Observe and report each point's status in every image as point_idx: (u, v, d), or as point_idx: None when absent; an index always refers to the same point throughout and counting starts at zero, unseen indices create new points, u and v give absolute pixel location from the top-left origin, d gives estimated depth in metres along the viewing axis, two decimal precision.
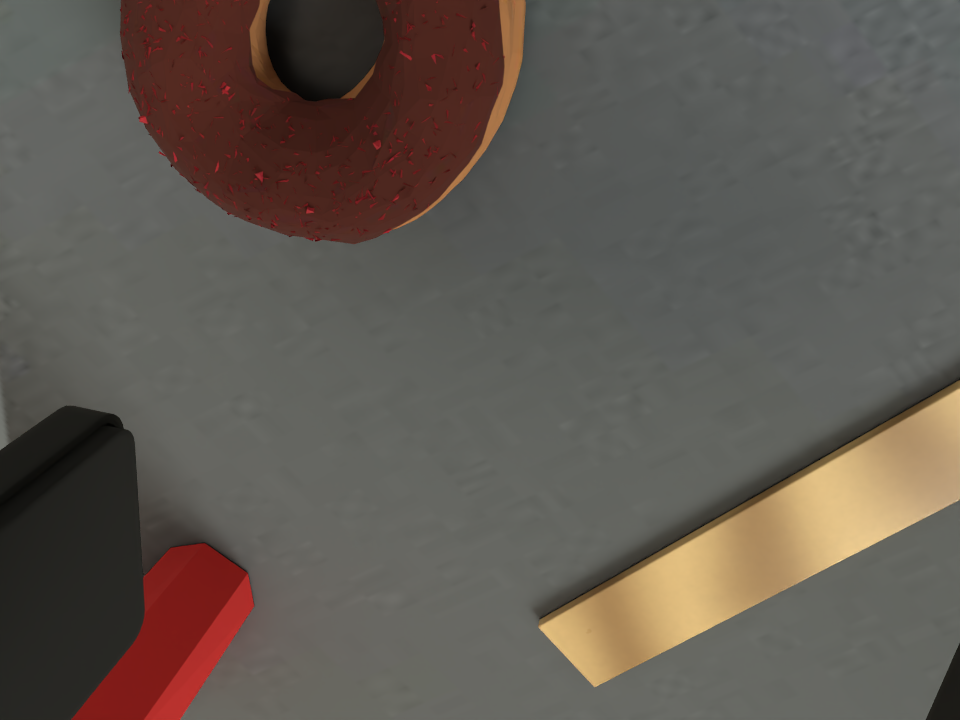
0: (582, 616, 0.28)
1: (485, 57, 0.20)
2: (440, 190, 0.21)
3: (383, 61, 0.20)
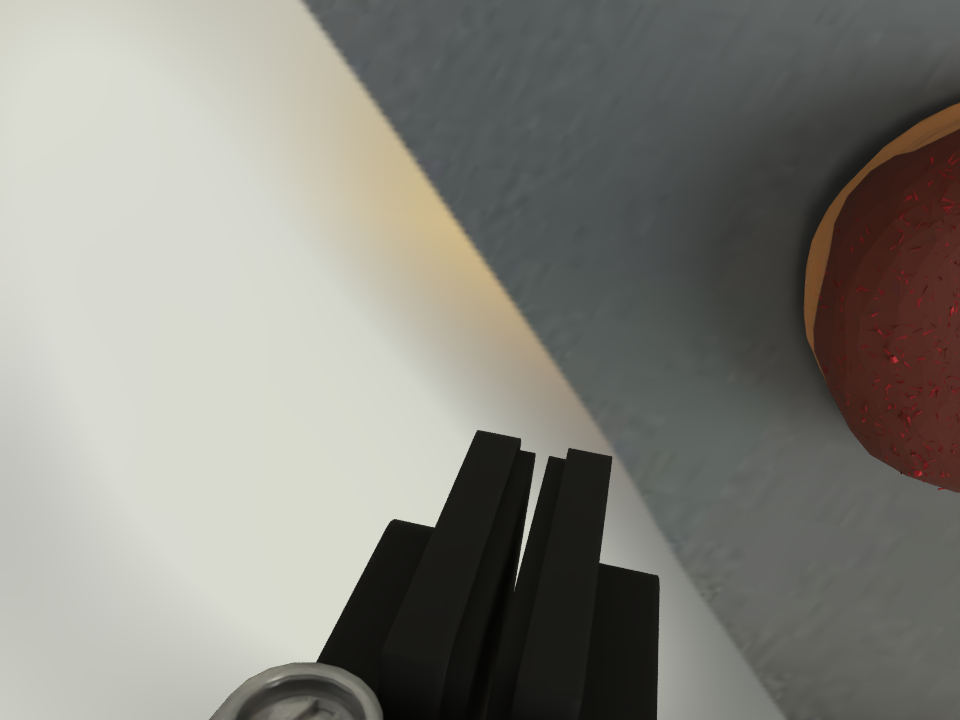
0: None
1: None
2: None
3: None
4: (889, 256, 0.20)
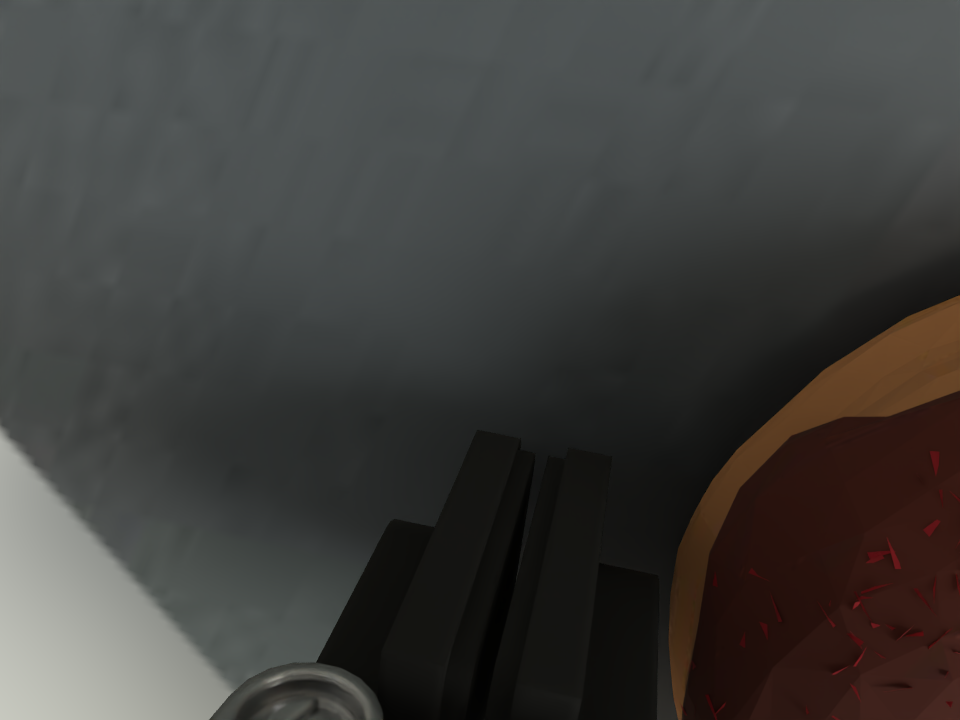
0: None
1: None
2: None
3: None
4: (830, 688, 0.08)
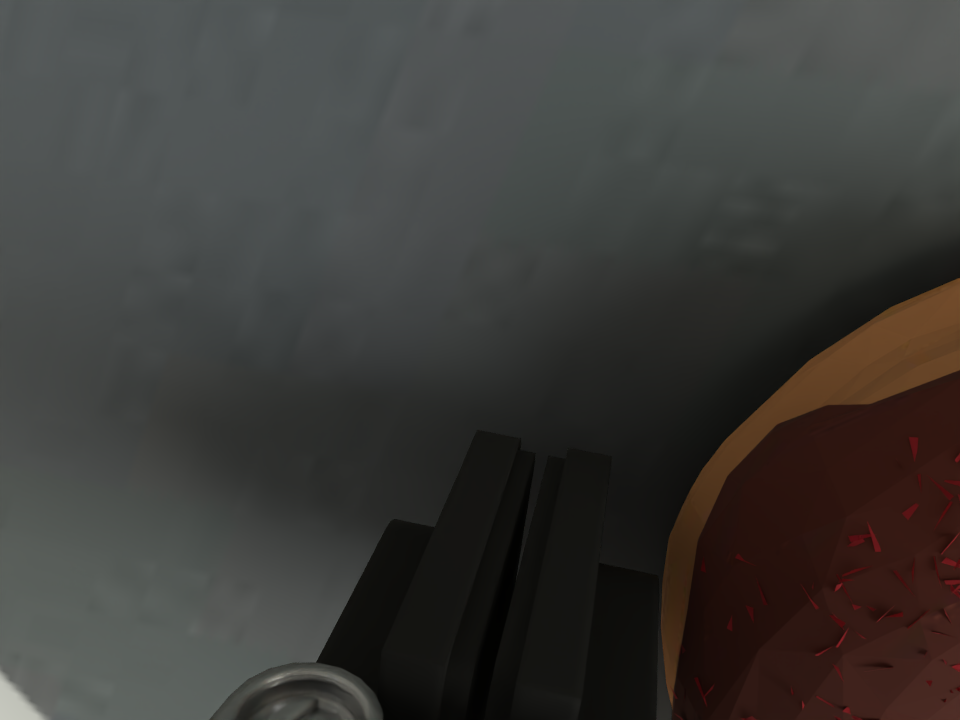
0: None
1: None
2: None
3: None
4: (814, 669, 0.08)
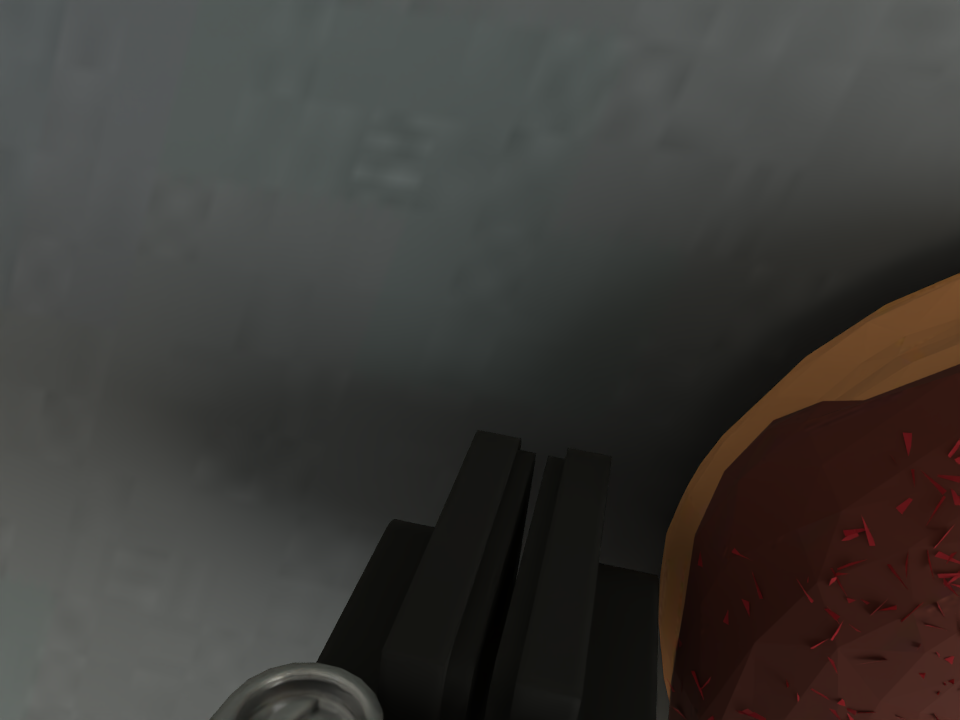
0: None
1: None
2: None
3: None
4: (809, 661, 0.08)
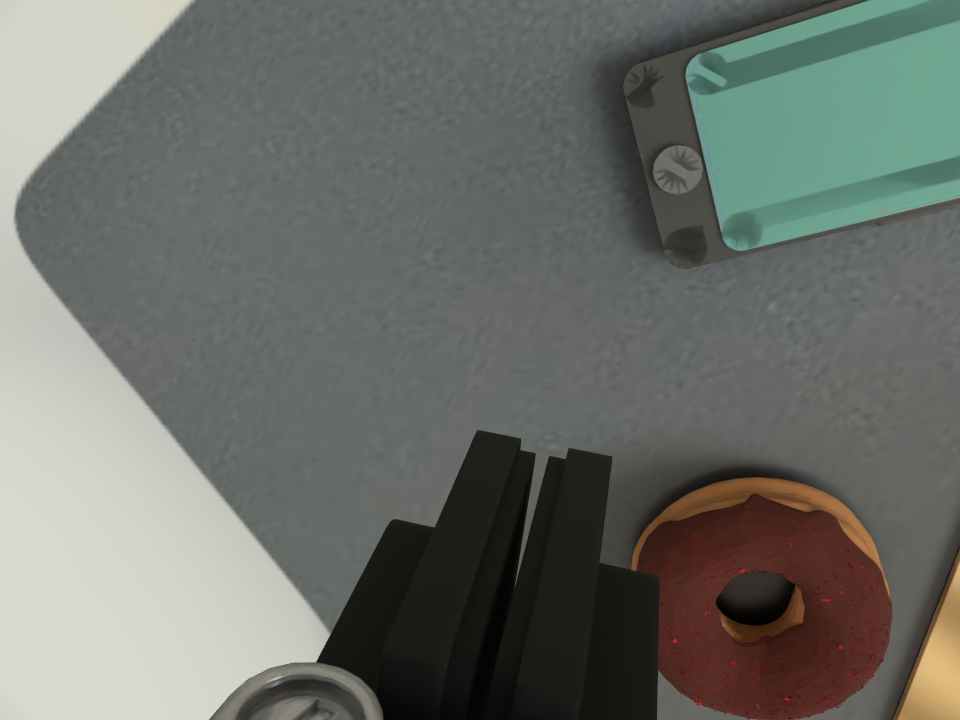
0: None
1: (866, 571, 0.32)
2: (888, 641, 0.33)
3: (810, 604, 0.32)
4: (664, 585, 0.33)
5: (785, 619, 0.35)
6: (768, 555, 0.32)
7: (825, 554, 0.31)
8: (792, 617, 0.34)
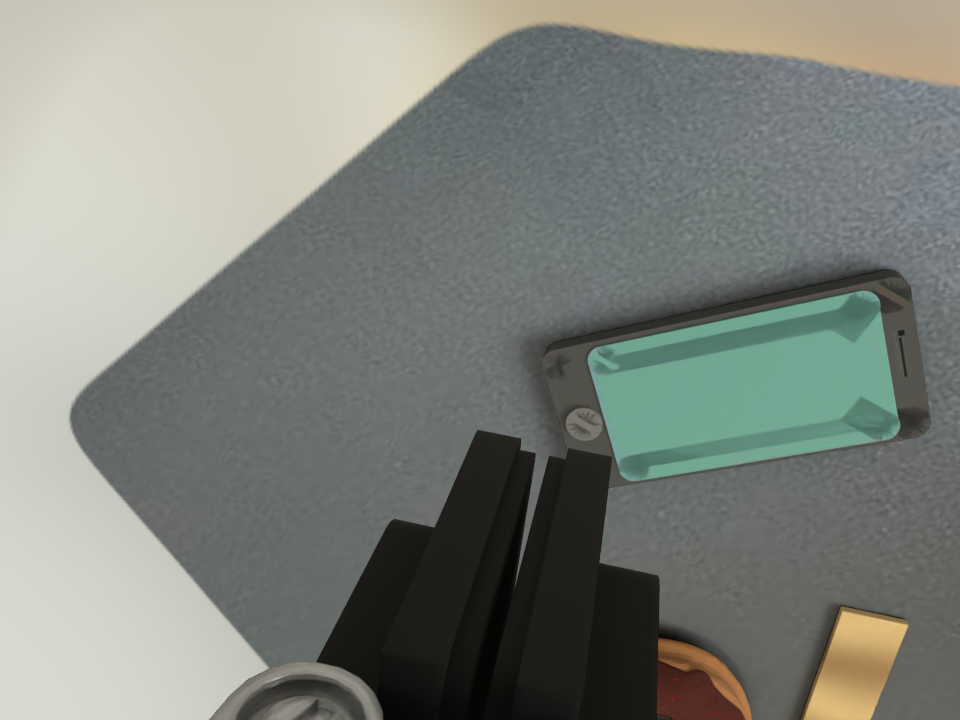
0: None
1: (731, 717, 0.41)
2: None
3: None
4: None
5: None
6: None
7: (699, 705, 0.41)
8: None
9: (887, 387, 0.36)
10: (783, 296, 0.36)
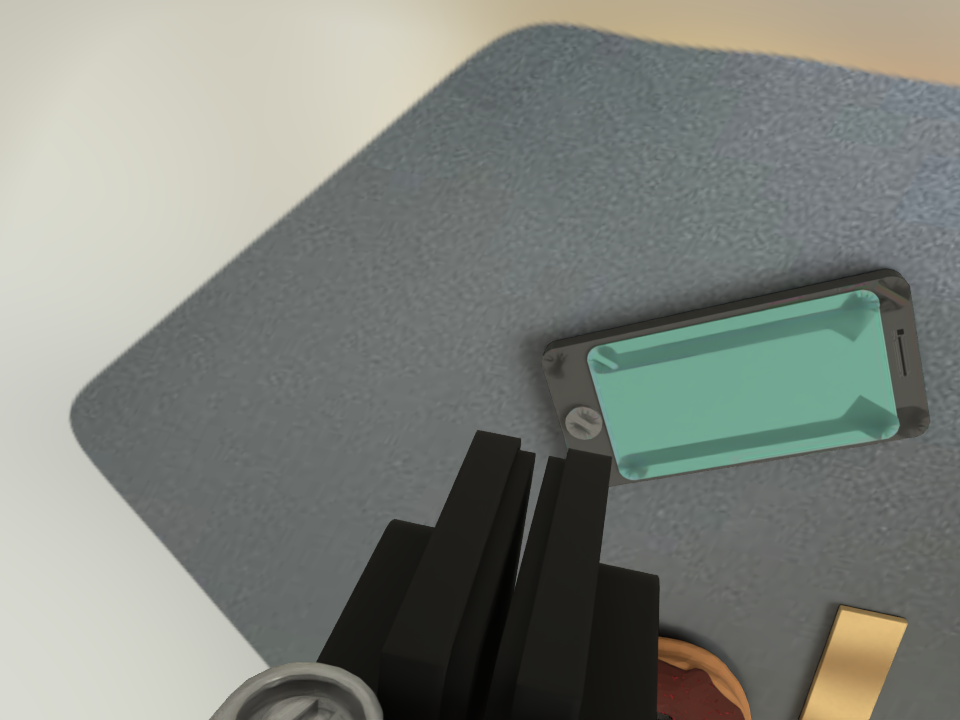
0: None
1: (730, 715, 0.41)
2: None
3: None
4: None
5: None
6: None
7: (698, 704, 0.41)
8: None
9: (886, 386, 0.36)
10: (783, 295, 0.36)
